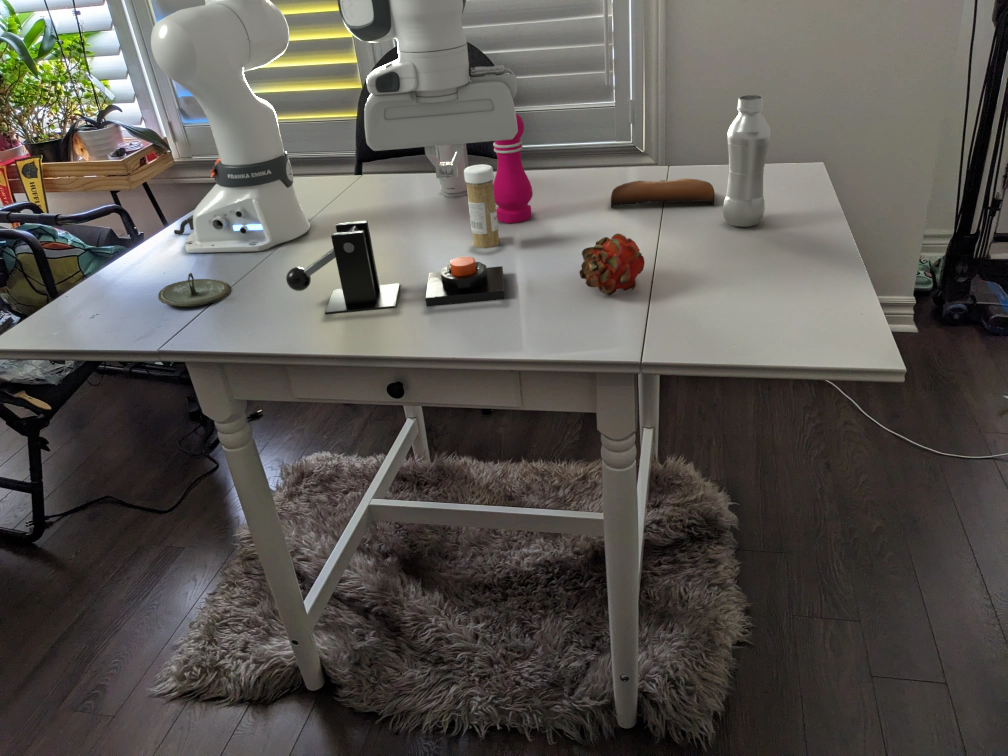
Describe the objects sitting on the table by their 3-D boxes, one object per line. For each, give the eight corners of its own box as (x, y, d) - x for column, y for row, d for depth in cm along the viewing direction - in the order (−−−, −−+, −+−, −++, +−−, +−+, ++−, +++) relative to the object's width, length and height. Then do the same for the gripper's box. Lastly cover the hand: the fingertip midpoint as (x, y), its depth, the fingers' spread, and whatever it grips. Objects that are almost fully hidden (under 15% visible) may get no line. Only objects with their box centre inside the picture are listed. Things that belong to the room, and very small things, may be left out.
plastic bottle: (748, 214, 134) (756, 90, 124) (772, 226, 129) (782, 97, 119) (714, 221, 133) (719, 97, 123) (736, 234, 127) (744, 104, 117)
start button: (451, 278, 113) (449, 267, 112) (451, 268, 116) (450, 257, 115) (476, 276, 113) (475, 264, 112) (476, 266, 116) (475, 255, 115)
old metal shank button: (156, 313, 125) (140, 288, 122) (206, 276, 130) (191, 251, 126) (194, 331, 119) (177, 305, 116) (244, 292, 124) (230, 266, 120)
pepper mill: (542, 216, 143) (534, 101, 133) (509, 227, 140) (498, 109, 130) (519, 208, 148) (509, 96, 138) (486, 218, 145) (474, 104, 135)
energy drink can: (439, 191, 162) (428, 115, 154) (468, 186, 163) (459, 110, 155) (444, 199, 157) (433, 121, 149) (474, 194, 158) (465, 116, 150)
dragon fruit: (594, 317, 110) (618, 293, 120) (644, 286, 105) (665, 264, 116) (559, 266, 109) (586, 246, 119) (608, 232, 105) (632, 214, 115)
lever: (295, 299, 114) (278, 281, 113) (300, 289, 117) (284, 272, 116) (365, 248, 111) (349, 229, 109) (368, 239, 114) (353, 220, 112)
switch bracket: (326, 320, 114) (308, 241, 108) (335, 296, 121) (318, 221, 115) (396, 313, 113) (382, 234, 107) (401, 290, 120) (388, 214, 114)
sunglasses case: (712, 188, 146) (714, 162, 140) (713, 219, 143) (715, 194, 137) (612, 192, 149) (610, 167, 144) (611, 222, 146) (609, 198, 140)
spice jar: (506, 248, 131) (498, 166, 125) (482, 255, 129) (473, 173, 123) (491, 241, 135) (482, 161, 128) (467, 248, 133) (458, 168, 126)
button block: (427, 312, 113) (423, 286, 111) (431, 286, 121) (427, 261, 119) (505, 305, 113) (502, 278, 111) (503, 279, 120) (501, 254, 118)
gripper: (515, 59, 105) (522, 163, 113) (360, 73, 106) (377, 176, 113) (516, 67, 100) (523, 177, 107) (354, 82, 101) (372, 189, 108)
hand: (447, 176), depth 110 cm, fingers closed
